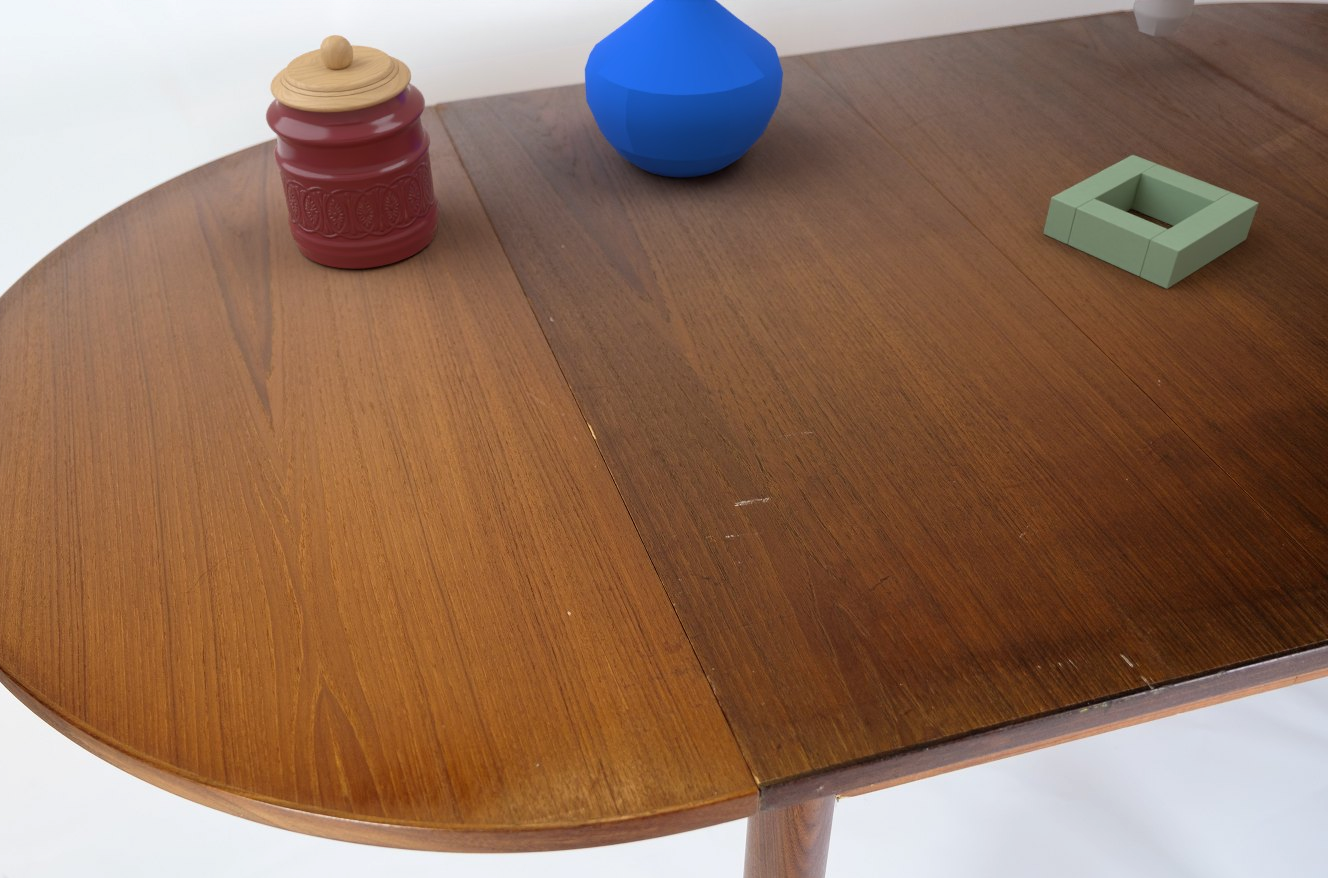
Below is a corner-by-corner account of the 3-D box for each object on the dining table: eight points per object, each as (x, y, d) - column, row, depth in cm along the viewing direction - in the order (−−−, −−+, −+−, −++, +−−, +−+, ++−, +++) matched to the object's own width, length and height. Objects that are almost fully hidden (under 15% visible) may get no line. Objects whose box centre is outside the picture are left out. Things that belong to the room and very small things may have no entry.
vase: (777, 115, 126) (790, -83, 113) (776, 203, 112) (792, -12, 100) (598, 111, 128) (592, -84, 115) (576, 197, 114) (566, -15, 101)
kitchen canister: (430, 190, 116) (405, -1, 104) (451, 259, 106) (426, 57, 95) (289, 210, 113) (248, 17, 102) (297, 282, 104) (252, 78, 92)
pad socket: (1246, 239, 105) (1259, 202, 103) (1166, 289, 100) (1178, 251, 98) (1123, 190, 112) (1132, 154, 110) (1042, 233, 107) (1051, 197, 105)
